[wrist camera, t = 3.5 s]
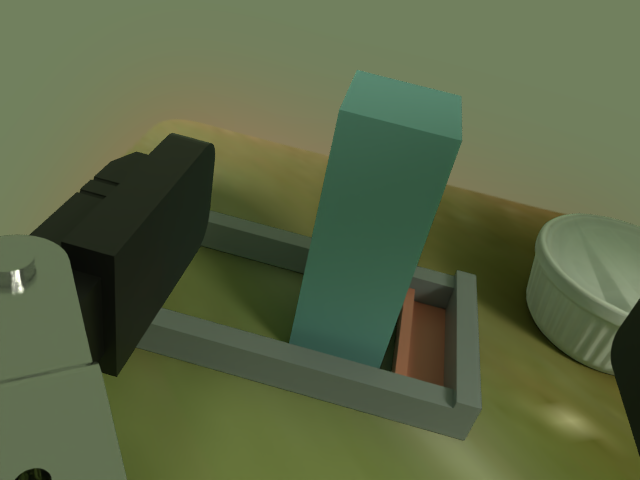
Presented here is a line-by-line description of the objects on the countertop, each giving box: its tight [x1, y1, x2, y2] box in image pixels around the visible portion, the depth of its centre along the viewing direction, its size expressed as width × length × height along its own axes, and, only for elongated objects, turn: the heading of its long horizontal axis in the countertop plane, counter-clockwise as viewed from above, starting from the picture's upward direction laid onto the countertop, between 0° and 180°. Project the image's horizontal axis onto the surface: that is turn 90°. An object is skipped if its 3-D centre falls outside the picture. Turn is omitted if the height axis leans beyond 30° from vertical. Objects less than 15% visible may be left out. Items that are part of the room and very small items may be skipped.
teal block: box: [289, 70, 462, 369], centre depth 29 cm, size 5×5×14 cm
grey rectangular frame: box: [136, 210, 482, 440], centre depth 32 cm, size 19×10×2 cm, turn 79°
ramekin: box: [526, 214, 640, 375], centre depth 36 cm, size 11×11×5 cm
